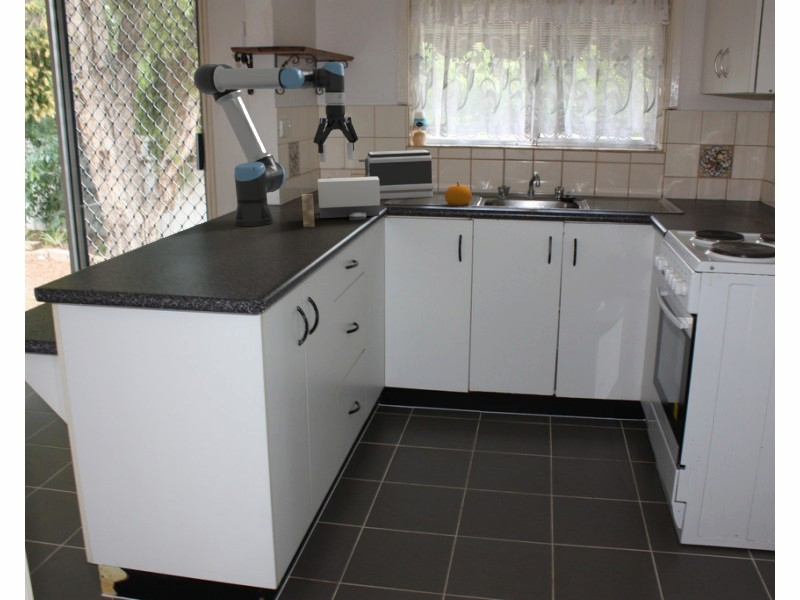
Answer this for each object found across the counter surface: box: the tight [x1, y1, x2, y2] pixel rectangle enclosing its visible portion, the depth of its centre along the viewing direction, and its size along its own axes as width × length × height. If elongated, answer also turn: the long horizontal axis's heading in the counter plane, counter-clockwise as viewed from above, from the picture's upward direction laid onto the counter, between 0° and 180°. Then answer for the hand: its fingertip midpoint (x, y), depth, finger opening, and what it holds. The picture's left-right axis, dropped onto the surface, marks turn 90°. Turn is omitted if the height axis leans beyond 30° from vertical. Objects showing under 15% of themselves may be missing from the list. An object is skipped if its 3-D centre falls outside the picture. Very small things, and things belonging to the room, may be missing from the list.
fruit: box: [444, 181, 473, 207], centre depth 328 cm, size 12×12×10 cm
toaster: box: [358, 149, 434, 200], centre depth 360 cm, size 18×34×21 cm, turn 97°
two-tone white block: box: [317, 176, 381, 219], centre depth 300 cm, size 24×12×16 cm, turn 95°
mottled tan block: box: [301, 193, 315, 228], centre depth 291 cm, size 4×16×12 cm, turn 5°
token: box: [348, 210, 367, 221], centre depth 300 cm, size 7×7×3 cm
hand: (336, 160), depth 293 cm, fingers open, 13 cm apart
